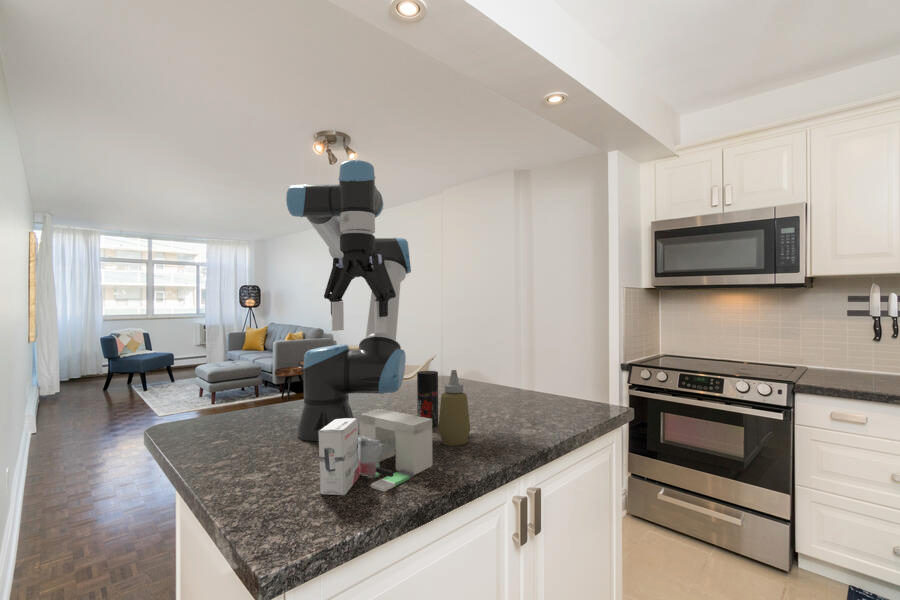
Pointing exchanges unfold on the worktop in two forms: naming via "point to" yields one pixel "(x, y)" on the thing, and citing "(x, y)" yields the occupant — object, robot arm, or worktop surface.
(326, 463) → the ink box
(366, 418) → the white and green frame
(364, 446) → the grey bar with plate
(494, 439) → the worktop surface
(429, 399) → the deodorant
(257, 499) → the worktop surface
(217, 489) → the worktop surface
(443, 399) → the squeeze bottle
